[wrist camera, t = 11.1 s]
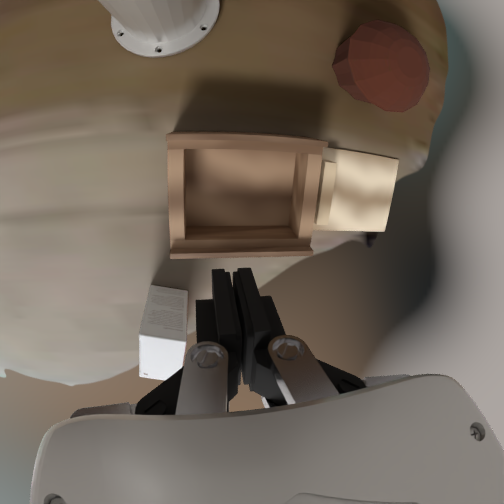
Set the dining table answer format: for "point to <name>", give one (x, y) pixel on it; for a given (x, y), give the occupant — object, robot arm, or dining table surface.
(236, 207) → the walnut box
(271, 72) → the dining table surface
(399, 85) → the muffin
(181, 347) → the small box
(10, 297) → the dining table surface
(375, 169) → the lid
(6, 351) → the dining table surface
